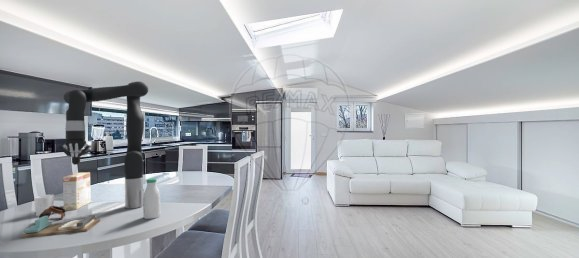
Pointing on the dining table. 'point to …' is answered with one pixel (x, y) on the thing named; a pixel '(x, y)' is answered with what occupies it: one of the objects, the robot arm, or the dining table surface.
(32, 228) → the stub
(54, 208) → the pottery mug
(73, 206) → the coffeecake box
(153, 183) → the milk bottle
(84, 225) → the ticket holder
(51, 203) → the white cup
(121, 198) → the dining table surface
